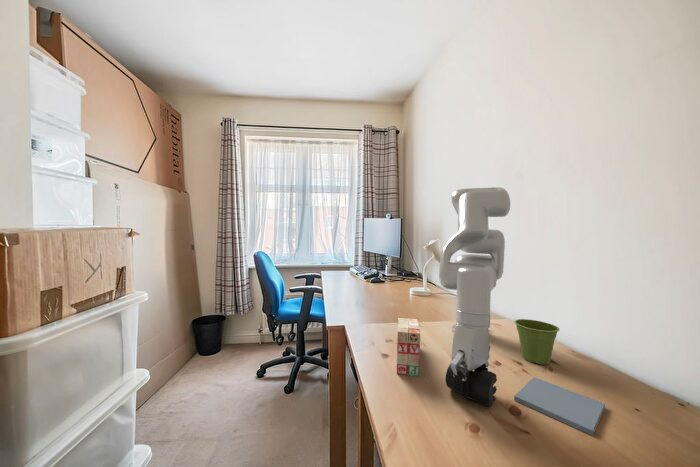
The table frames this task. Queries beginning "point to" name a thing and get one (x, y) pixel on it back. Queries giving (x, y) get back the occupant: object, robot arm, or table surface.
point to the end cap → (476, 385)
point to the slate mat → (562, 404)
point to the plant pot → (536, 340)
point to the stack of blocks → (408, 347)
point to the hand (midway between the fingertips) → (471, 388)
